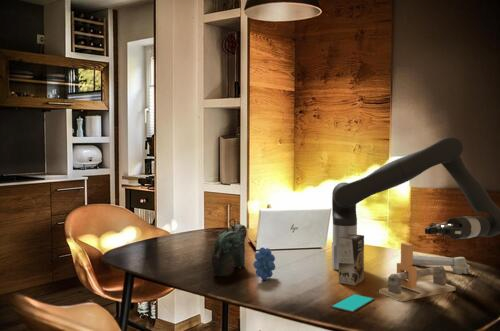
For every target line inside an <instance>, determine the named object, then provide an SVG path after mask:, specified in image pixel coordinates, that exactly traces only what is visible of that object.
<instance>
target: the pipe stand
mask: <svg viewBox="0 0 500 331" xmlns="http://www.w3.org/2000/svg"><path fill="white" fill-rule="evenodd" d="M428 276H432V278H433V279H428V280H427V279H426V280H420V281H417V287H416V288H415V289H410V288H407V287H405V286H402V285H401V280H408V272H407V271H405V272H402V273H397V272H396V273H392V274H390V275H389V276H388V280H387V281H388V282H387V286H388V287H383V288H379V289H378V293H379V294H382V295H384V296H387V297H389V298H392V299H394V300H397V301H399V302H405V301H409V300H414V299H415V300H416V299H421V298H425V297H430V296H435V295H440V294H445V293H449V292H454V291H457V290H456V288H457V287H456V286H453V285H451V284H448V283H446V282H447V270H445V266H432V267H427V268H421V269H417V278H422V277H428Z"/></svg>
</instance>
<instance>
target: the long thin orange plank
mask: <svg viewBox="0 0 500 331" xmlns="http://www.w3.org/2000/svg"><path fill="white" fill-rule="evenodd" d="M413 255H414V245H413V244H412V243H408V242H402V243H400V262H397V263H396V273H402V272H406V271H407V272H408V280H407V279H406V280H401V285H402V286H405V287H407V288H410V289H415V288H416V287H417V282H418V281H417V270H418V269H417V266H415V265H413Z"/></svg>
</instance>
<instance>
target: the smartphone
mask: <svg viewBox="0 0 500 331" xmlns="http://www.w3.org/2000/svg"><path fill="white" fill-rule="evenodd" d="M374 301H375V297H374V298H373V297H369V296H365V295H361V294H355V293H353V294H351V295H349V296H348V297H346V298H343V299H342V300H339V301H338V302H336V303H334V304H332V305H331V306H330V308H331V309H334V310H339V311H343V312H347V313H351V314H353V313H356V312H357V311H358V310H360V309H362V308H364V307H365V306H367V305H369V304H371V303H372V302H374Z"/></svg>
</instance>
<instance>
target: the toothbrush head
mask: <svg viewBox="0 0 500 331" xmlns="http://www.w3.org/2000/svg"><path fill="white" fill-rule="evenodd" d="M413 266H433V267H438V266H443V267H445V266H446V267H447V266H449V267H451V269H452V273H454V274H457V275H463V274H465V275H467V274H470V268H471V267H470V266H471V265H470V264H468V263H467V260H466V258H465V257H464V256H456V257H447V256H446V257H445V256H444V257H443V256H433V255H432V256H430V255H416V254H413Z"/></svg>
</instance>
